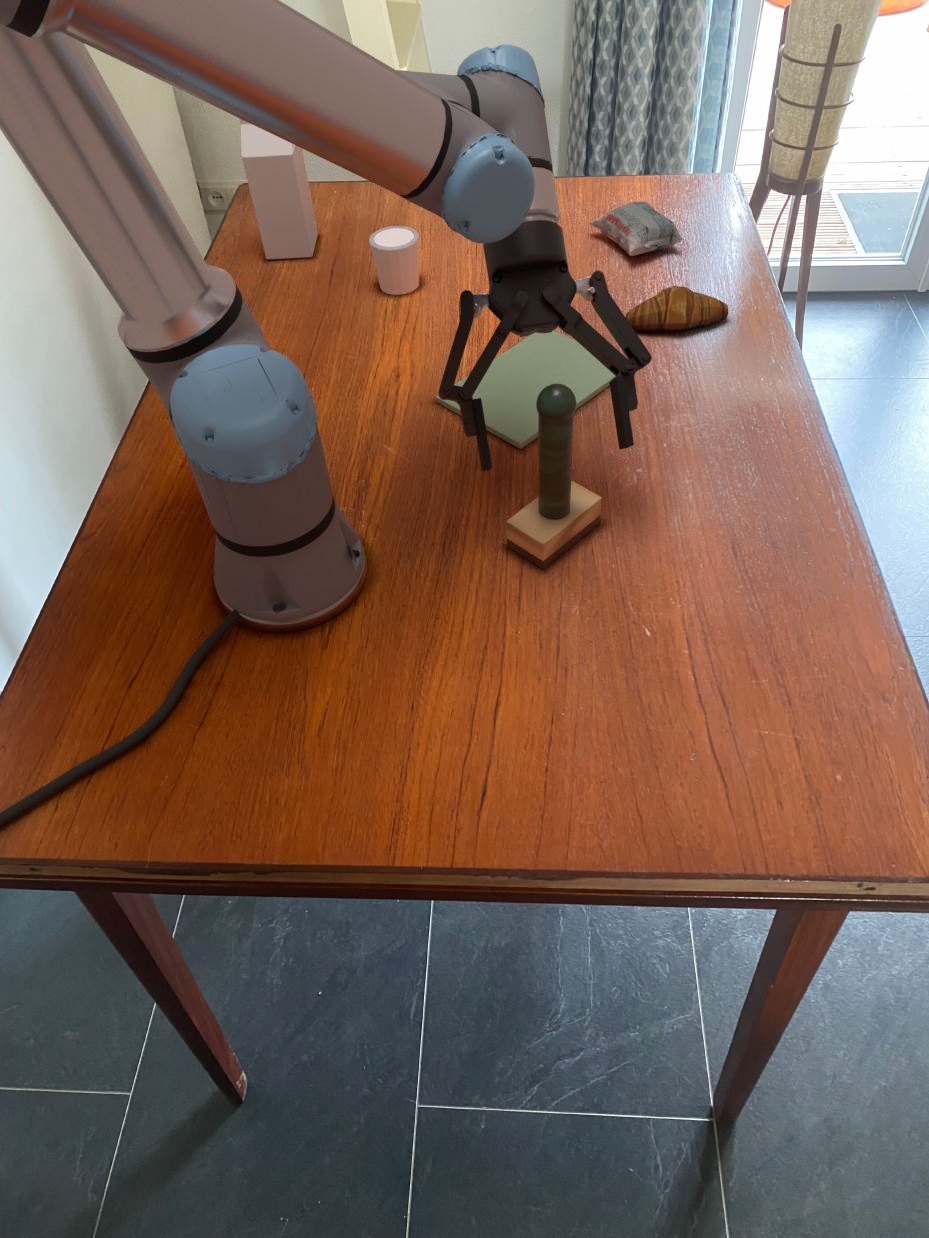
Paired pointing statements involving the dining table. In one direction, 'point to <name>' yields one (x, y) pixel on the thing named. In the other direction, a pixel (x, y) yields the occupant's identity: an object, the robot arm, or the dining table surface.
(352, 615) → the dining table surface
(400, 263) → the yogurt cup
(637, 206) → the packaged food
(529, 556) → the scrub brush
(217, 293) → the robot arm
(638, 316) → the croissant
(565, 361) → the mat
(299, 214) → the milk carton
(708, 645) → the dining table surface
